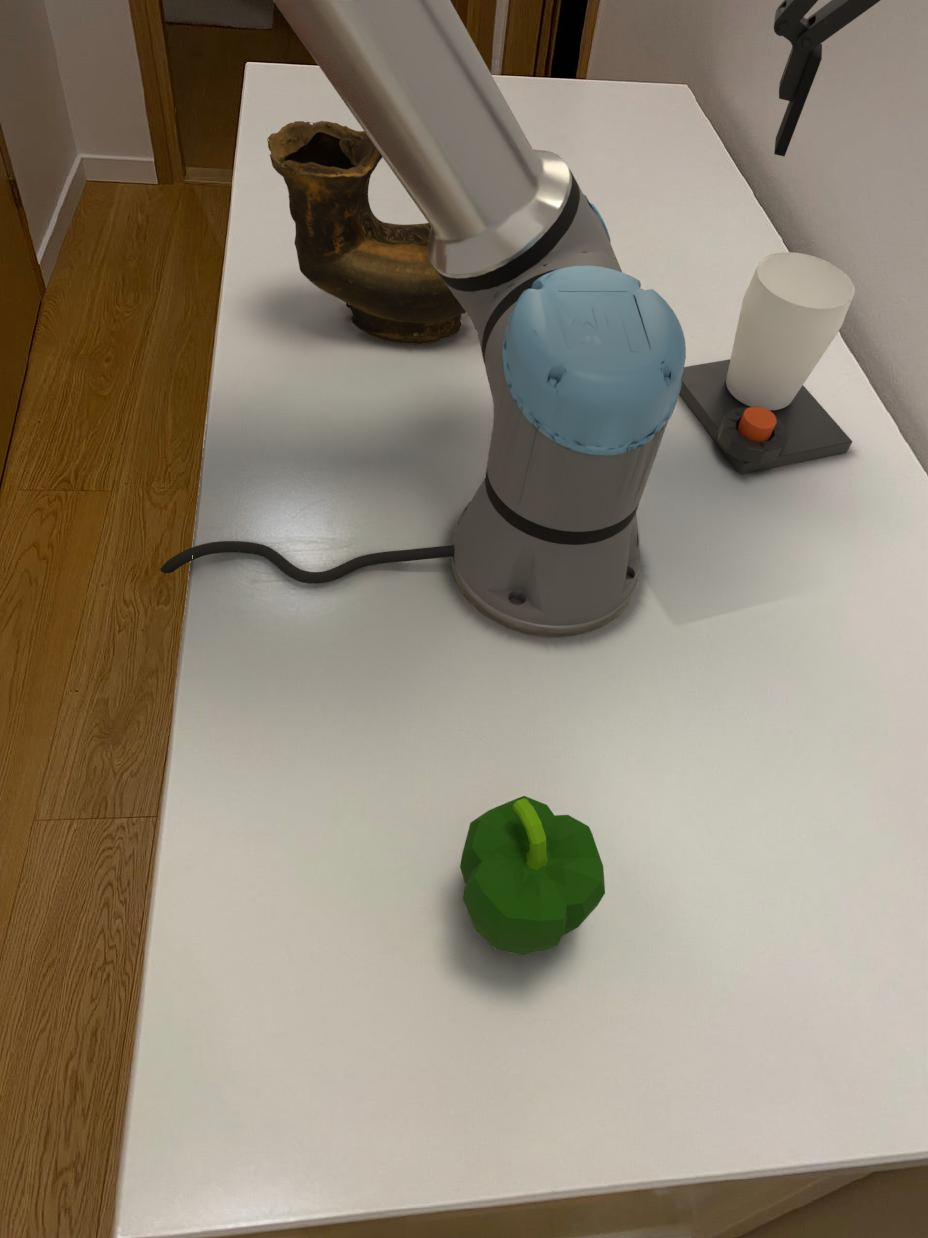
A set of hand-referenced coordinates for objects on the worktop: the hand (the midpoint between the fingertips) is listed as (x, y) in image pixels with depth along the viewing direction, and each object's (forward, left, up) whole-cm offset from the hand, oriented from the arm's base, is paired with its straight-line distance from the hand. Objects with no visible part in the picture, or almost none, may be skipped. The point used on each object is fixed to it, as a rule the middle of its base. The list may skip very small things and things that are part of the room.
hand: (872, 169), depth 68 cm
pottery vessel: (-26, +27, -27) cm, 46 cm away
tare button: (-1, -1, -24) cm, 24 cm away
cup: (+4, +6, -25) cm, 26 cm away
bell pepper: (-38, -34, -27) cm, 58 cm away
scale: (+3, +4, -27) cm, 27 cm away
